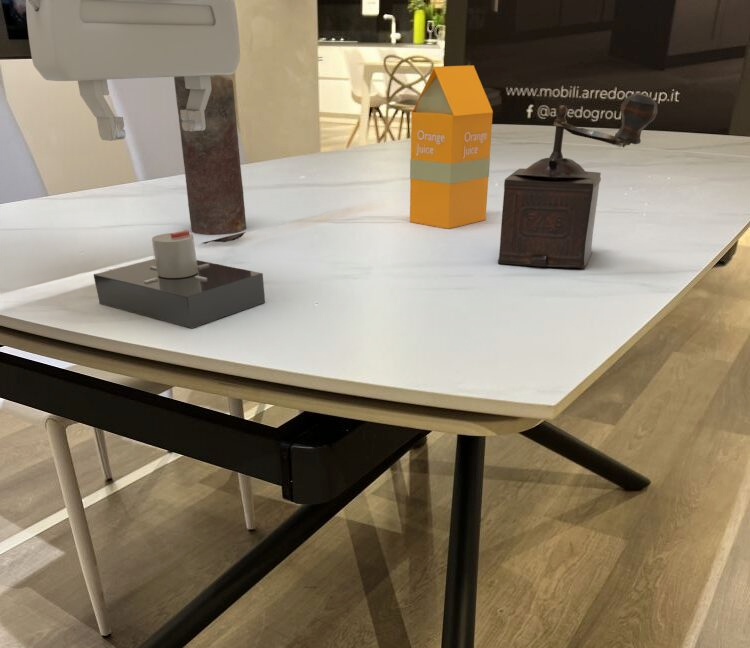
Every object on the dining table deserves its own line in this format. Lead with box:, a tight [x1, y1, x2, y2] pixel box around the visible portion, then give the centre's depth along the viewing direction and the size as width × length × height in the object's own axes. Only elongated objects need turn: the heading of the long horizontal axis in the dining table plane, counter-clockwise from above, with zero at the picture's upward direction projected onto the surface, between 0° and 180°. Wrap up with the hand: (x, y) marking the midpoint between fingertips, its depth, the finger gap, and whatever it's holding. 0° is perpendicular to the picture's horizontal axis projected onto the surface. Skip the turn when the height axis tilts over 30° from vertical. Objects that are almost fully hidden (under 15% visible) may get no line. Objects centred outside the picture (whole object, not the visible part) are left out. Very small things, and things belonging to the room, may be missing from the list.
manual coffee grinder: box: [497, 92, 659, 269], centre depth 86 cm, size 16×11×18 cm
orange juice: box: [409, 64, 494, 230], centre depth 106 cm, size 8×9×20 cm
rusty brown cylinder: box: [173, 75, 247, 245], centre depth 96 cm, size 8×7×20 cm
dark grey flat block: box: [93, 258, 266, 329], centre depth 75 cm, size 14×10×3 cm
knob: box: [151, 229, 198, 278], centre depth 74 cm, size 4×4×4 cm
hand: (155, 135), depth 68 cm, fingers open, 8 cm apart
